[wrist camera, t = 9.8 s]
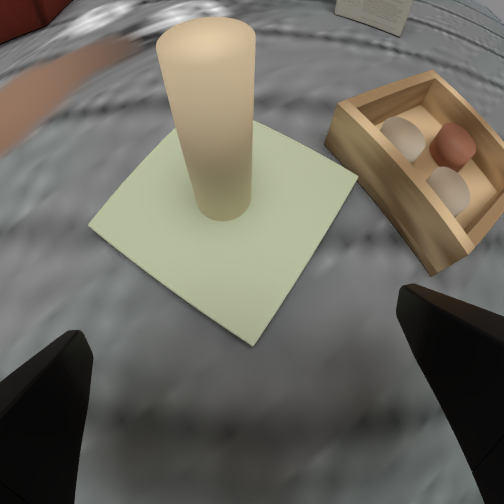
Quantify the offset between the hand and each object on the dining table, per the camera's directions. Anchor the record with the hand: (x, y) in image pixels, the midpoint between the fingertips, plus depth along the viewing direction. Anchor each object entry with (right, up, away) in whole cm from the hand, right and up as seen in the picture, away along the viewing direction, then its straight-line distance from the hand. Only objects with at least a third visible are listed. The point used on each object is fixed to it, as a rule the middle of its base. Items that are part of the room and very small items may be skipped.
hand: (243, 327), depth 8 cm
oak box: (+13, +8, +12) cm, 19 cm away
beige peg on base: (-1, +5, +10) cm, 11 cm away
